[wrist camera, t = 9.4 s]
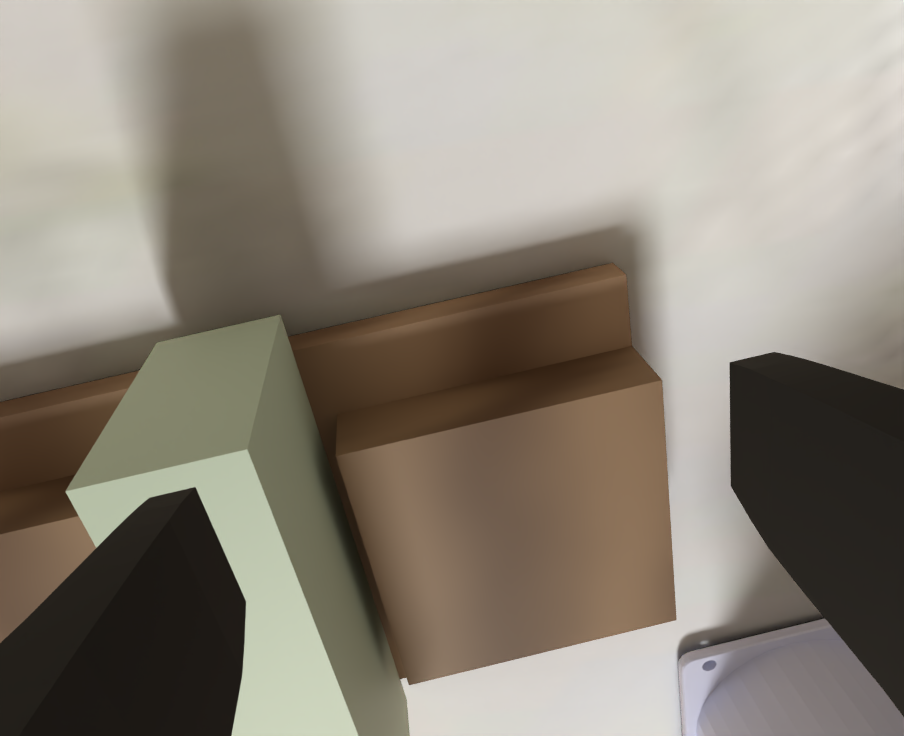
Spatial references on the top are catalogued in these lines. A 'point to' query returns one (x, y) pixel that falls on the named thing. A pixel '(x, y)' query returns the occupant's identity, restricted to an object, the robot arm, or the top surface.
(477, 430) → the slotted plank
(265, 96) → the top surface
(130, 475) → the sage block
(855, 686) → the robot arm
